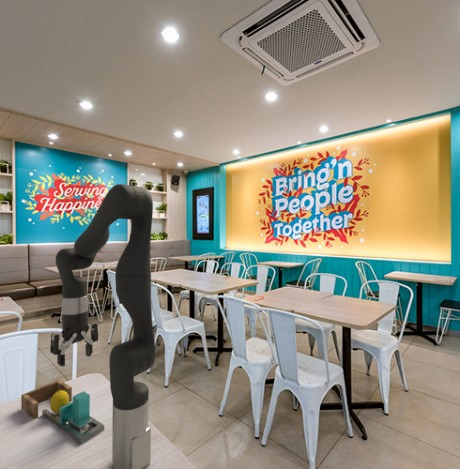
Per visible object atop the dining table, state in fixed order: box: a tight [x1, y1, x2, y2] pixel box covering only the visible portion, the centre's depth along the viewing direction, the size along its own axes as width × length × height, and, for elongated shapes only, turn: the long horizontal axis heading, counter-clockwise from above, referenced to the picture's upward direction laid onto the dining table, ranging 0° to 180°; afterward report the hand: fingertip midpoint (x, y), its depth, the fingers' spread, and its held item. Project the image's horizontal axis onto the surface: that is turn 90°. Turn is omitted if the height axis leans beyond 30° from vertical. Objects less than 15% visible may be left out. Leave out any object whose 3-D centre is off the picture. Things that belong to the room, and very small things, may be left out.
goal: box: [20, 379, 73, 420], centre depth 103 cm, size 9×12×5 cm
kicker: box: [59, 391, 94, 435], centre depth 92 cm, size 8×8×10 cm
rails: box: [41, 408, 105, 445], centre depth 95 cm, size 24×7×2 cm, turn 57°
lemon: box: [49, 390, 70, 415], centre depth 99 cm, size 6×6×8 cm
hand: (75, 360), depth 93 cm, fingers open, 8 cm apart
